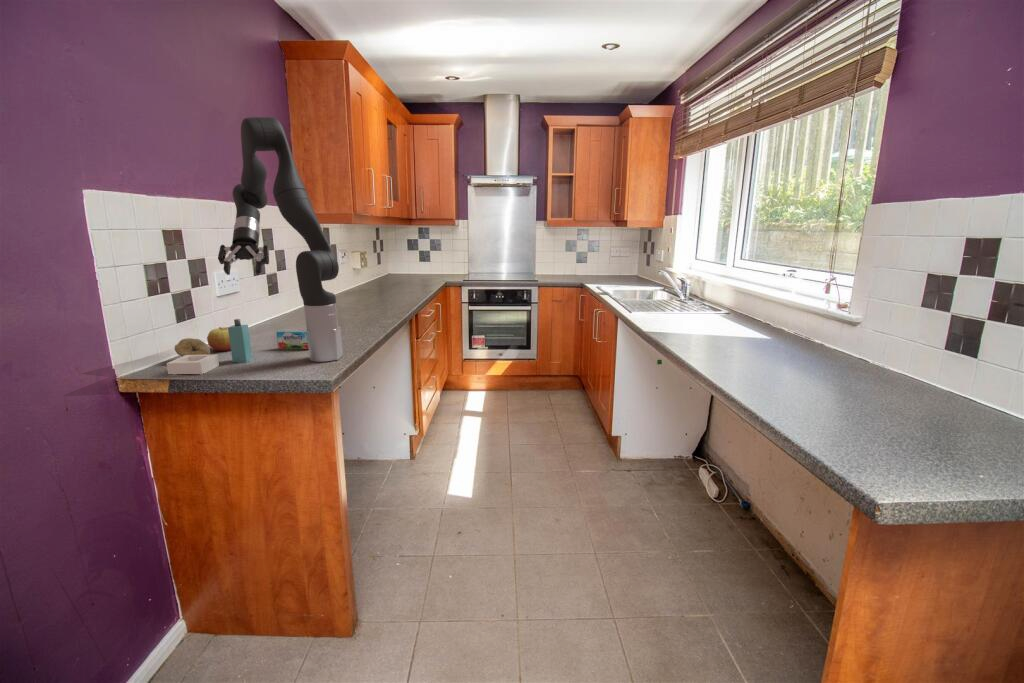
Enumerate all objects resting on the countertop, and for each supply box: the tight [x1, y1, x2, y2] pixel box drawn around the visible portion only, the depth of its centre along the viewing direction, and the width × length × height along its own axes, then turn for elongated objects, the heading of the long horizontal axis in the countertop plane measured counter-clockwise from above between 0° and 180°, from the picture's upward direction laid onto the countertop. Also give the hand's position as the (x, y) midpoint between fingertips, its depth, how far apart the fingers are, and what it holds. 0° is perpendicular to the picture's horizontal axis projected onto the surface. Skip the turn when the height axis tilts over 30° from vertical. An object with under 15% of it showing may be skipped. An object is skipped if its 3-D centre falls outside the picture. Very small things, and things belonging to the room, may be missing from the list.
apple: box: [206, 326, 231, 352], centre depth 159 cm, size 10×10×8 cm
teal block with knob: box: [228, 318, 254, 364], centre depth 144 cm, size 4×4×13 cm
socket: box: [166, 353, 220, 375], centre depth 135 cm, size 9×9×4 cm
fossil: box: [174, 337, 211, 357], centre depth 147 cm, size 9×4×10 cm
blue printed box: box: [276, 330, 309, 350], centre depth 159 cm, size 12×2×6 cm, turn 83°
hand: (242, 273), depth 150 cm, fingers open, 8 cm apart
